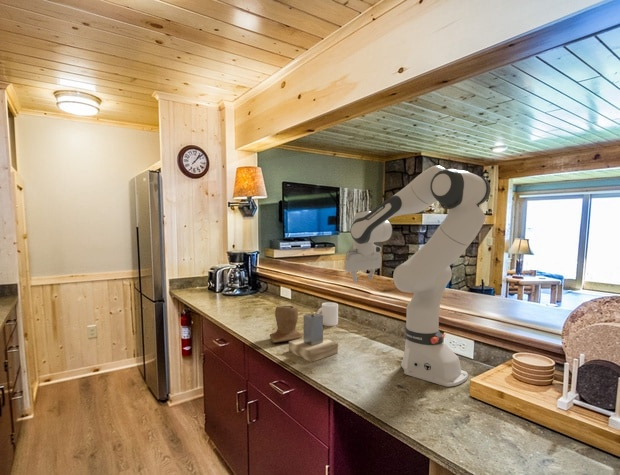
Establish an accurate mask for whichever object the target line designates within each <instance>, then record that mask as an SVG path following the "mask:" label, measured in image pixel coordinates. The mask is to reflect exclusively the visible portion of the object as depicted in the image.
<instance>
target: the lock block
mask: <svg viewBox="0 0 620 475" xmlns="http://www.w3.org/2000/svg"><path fill="white" fill-rule="evenodd" d="M303 338H304V343H306V344H308V345H311V346H313V345H316V344H320V343H323V338H324V325H323V315H322V314H320V313H319V314H317V312H315V311H311V313H310V314H309V313H308V314H305V315H303Z"/></svg>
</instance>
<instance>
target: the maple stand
mask: <svg viewBox="0 0 620 475" xmlns="http://www.w3.org/2000/svg"><path fill="white" fill-rule="evenodd" d="M288 352H289V353H291V354H293V355H295V356H297V357H300V358H301V359H303V360H306V361H308V362H310V363H312V362H315V361H318V360H321V359H325V358H327V357H331V356H333V355H337V354H338V353H339V344H338V342H336V341H333V340H331V339H328V338H325V337H323V343H320V344H316V345H313V346H311V345H308V344H306V343H304V337H301V338H297V339H293V340H288Z"/></svg>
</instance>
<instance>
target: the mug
mask: <svg viewBox="0 0 620 475" xmlns="http://www.w3.org/2000/svg"><path fill="white" fill-rule="evenodd" d="M316 313H317V314H320V313H321V315H323V326H325V327H336V326H337V325H338V324H339V304H338V303H337V302H332V301H331V302H322V303H321V307H320V308H318V310H317V311H316Z"/></svg>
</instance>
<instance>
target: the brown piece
mask: <svg viewBox="0 0 620 475" xmlns="http://www.w3.org/2000/svg"><path fill="white" fill-rule="evenodd" d="M274 316H275V317H274V318H275V322H276V328H277V329H276V330H275V332H272V333H270V334H269V338H270V341H271V343H273V344H274V343H280V342H287V341H288V342H289V341H293V340H296V339H300V338H303V334H302V333H300V332H298V331H297V329H296V326H297V323H298V320H299V319H298V318H299V310H298V307H297V306H296V305H278V306H276V307H275V311H274Z"/></svg>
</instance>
